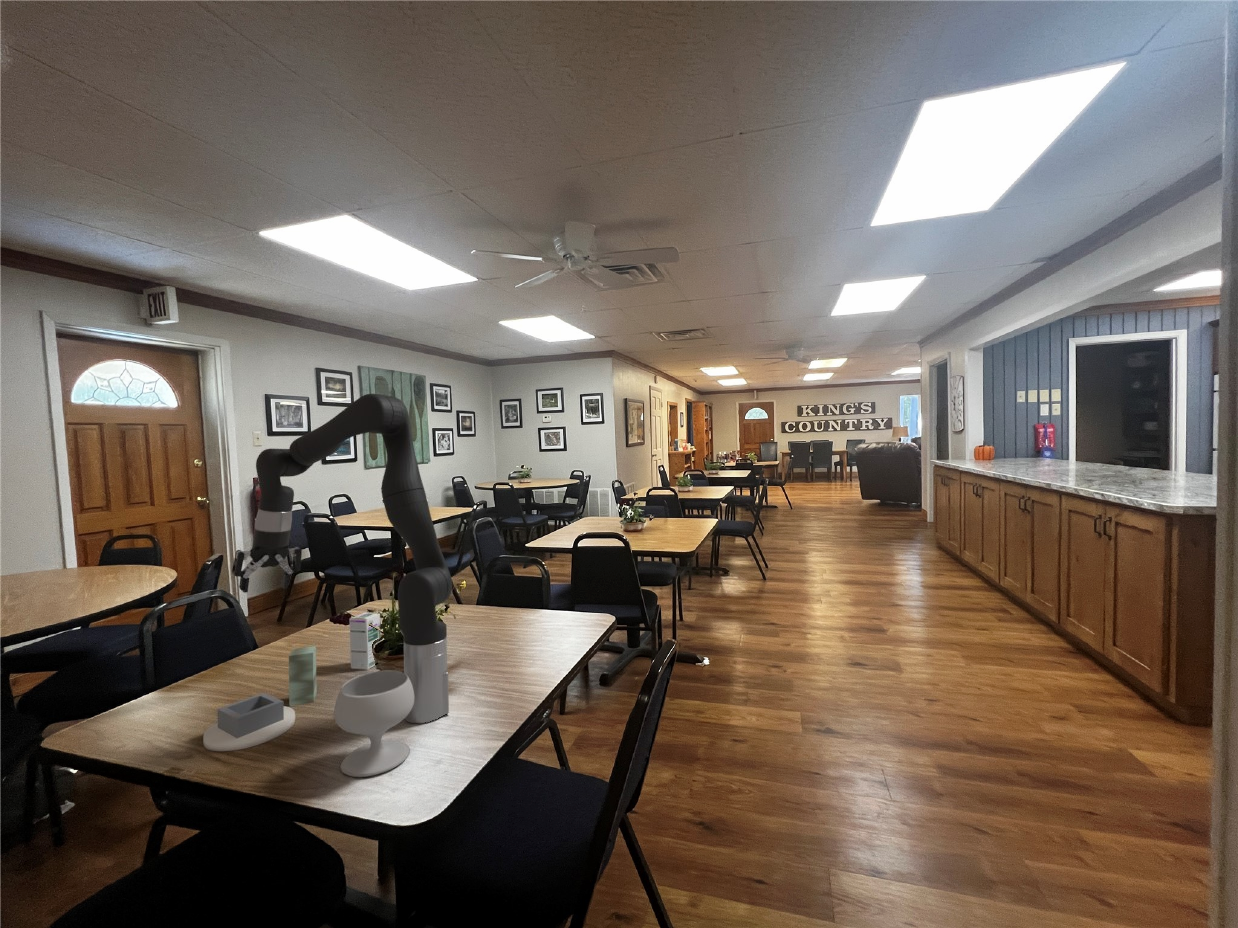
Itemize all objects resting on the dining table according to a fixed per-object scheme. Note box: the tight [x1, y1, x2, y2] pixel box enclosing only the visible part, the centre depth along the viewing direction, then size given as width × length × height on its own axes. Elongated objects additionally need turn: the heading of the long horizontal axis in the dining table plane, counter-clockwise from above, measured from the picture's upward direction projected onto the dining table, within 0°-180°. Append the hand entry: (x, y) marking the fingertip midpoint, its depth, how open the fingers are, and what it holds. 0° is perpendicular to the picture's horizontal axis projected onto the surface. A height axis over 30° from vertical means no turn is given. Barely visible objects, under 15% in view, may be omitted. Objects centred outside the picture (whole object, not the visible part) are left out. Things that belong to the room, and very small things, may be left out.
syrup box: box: [349, 611, 381, 671], centre depth 144 cm, size 6×6×14 cm
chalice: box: [333, 669, 414, 778], centre depth 97 cm, size 14×14×15 cm
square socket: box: [202, 692, 296, 752], centre depth 109 cm, size 16×16×6 cm
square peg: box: [288, 645, 318, 707], centre depth 123 cm, size 5×5×12 cm
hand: (264, 589), depth 127 cm, fingers open, 8 cm apart
